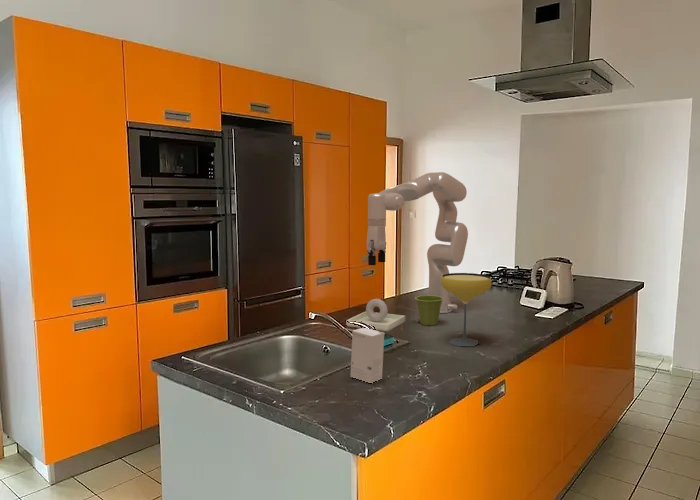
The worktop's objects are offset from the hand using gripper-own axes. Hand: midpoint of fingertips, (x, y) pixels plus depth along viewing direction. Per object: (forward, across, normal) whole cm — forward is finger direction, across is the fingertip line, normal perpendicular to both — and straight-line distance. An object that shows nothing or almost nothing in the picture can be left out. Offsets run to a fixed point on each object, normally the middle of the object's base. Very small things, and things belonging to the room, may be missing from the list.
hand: (376, 263), depth 221 cm
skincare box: (+26, +62, +25) cm, 72 cm away
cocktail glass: (+26, +11, +41) cm, 50 cm away
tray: (+26, 0, 0) cm, 26 cm away
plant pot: (+26, -10, +20) cm, 34 cm away
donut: (+25, 0, 0) cm, 25 cm away
